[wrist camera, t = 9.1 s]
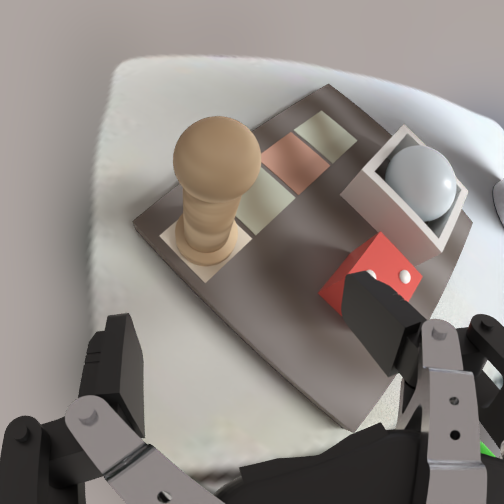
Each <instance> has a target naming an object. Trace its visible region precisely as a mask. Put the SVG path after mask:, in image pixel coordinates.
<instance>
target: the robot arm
mask: <svg viewBox="0 0 504 504" xmlns="http://www.w3.org/2000/svg"><path fill="white" fill-rule="evenodd" d="M493 197H494V203H495V207H496V210H497V213H498V215H499V217H500V220H501V222H502V224H503V226H504V179H502V180H501V181H499V182H498V183H497V184H496V185H495V186H494V189H493ZM341 313H342V317H343V320H344V321H345V323H346V324H347V326H348V327H349V328H350V329H351V331H352V332H353V333H354V334H355V336H356V337H357V338H358V339H359V341H360V342H361V343H362V345H363V346H364V347H365V348H366V350H367V351H368V352H369V353H370V355H371V356H372V357H373V359H374V360H375V361H376V362H377V364H378V365H379V366H380V368H381V369H382V370H383V372H384V373H385V374H386V375H387V377H390V376H393V375H395V374H398V373H400V374H401V376H402V377H403V379H402V381H401V391H400V402H399V411H398V420H397V424H396V427H395V429H393V430H385V428H384V426H383V425H382V423H381V422H380V423H378V424H375V425H373V426H371V427H368V428H366V429H364V430H361V431H359V432H356V433H354V434H351V435H349V436H348V437H346V438H345V439H343V440H342V441H340V442H339V443H337V444H336V445H334V446H333V447H331V448H330V449H328V450H327V451H325V452H323V453H322V454H320V455H316V456H306V457H293V458H277V459H273V460H269V461H265V462H261V463H257V464H253V465H248V466H244V467H239V469H240V474H241V476H240V477H238V478H236V479H234V480H232V481H230V482H229V483H227V484H225V485H224V486H223V487H221V488H220V489H219V490H217V491H216V492H215V493H214V494H213V495H212V494H211V493H210V492H208V491H207V490H206V489H204V488H203V487H202V486H201V485H199V484H198V483H197V482H195V481H194V480H193V479H192V478H190V477H189V476H188V475H187V474H185V473H184V472H183V471H182V470H181V469H179V468H178V467H177V466H176V465H175V464H173V463H172V462H171V461H170V460H169V459H168V458H167V457H165V456H164V455H163V454H162V453H161V452H160V451H159V450H158V449H156V448H155V447H154V446H153V445H151V444H146V443H145V442H144V441H143V440H142V439H141V438H145V429H144V396H143V355H142V350H141V346H140V343H139V340H138V337H137V334H136V331H135V328H134V325H133V322H132V319H131V316H130V314H129V313H125V314H117V315H110V316H108V317H107V322H106V327H105V331H98V332H96V333H95V335H94V336H93V337H92V339H91V340H90V341H89V344H88V349H87V355H86V358H85V365H84V368H83V373H82V379H81V384H80V389H79V395H78V399H76V400H75V401H73V402H72V403H71V404H70V405H69V407H68V409H67V410H66V413H65V416H64V417H62V418H60V419H58V420H55V421H51V422H48V423H45V424H42V425H41V424H40V423H39V422H38V421H37V420H36V419H35V418H33V417H30V416H21V417H18V418H16V419H14V420H13V421H12V422H11V423H10V424H9V425H8V426H7V428H6V431H5V434H4V439H3V445H2V451H1V457H0V504H86V499H85V482H86V481H89V480H92V479H95V478H99V477H102V476H104V478H105V480H106V481H107V482H108V483H109V485H110V486H111V487H112V488H113V489H114V490H115V491H116V493H117V494H118V495H119V496H120V497H121V498H122V499H123V500H124V501H125V502H126V504H504V327H503V326H502V325H501V324H500V323H499V322H498V321H497V320H496V319H494V318H493V317H491V316H488V315H485V314H477V315H475V316H473V318H472V319H471V322H470V324H469V327H466V328H457V329H455V328H454V326H452V325H451V324H450V323H448V322H446V321H444V320H440V319H430V320H427V319H426V318H425V317H424V316H422V315H421V314H420V313H419V312H418V311H417V310H416V309H415V308H414V307H413V306H412V305H411V304H409V303H408V302H407V301H406V300H404V298H403V297H402V296H401V295H400V294H399V295H398V293H397V292H396V291H395V290H394V289H393V288H392V287H391V286H389V285H387V284H385V283H383V282H381V281H379V280H376V279H375V278H374V277H373V276H372V275H370V274H369V273H368V272H367V271H360V272H356V273H351V274H347V275H346V277H345V282H344V290H343V297H342V305H341ZM487 360H489V361H490V362H491V364H492V365H493V366H494V367H495V368H496V369H497V370H498V371H499V372H500V373H501V375H502V377H503V386H502V388H501V390H499V389H498V387H497V386H496V385H495V384H494V383H493V382H492V380H491V379H490V378H489V377H488V376H487V375H486V374H485V372H484V371H483V370H482V369H483V367H484V365H485V364H486V362H487ZM479 421H480V422H481V424H482V425H483V427H484V428H485V429H486V431H487V432H488V433H489V435H490V436H491V438H492V439H493V440H494V442H495V443H496V445H497V446H498V447H499V449H500V450H501V456H500V457H499V458H497V457H493V456H490V455H486V454H483V453H480V431H479Z"/></svg>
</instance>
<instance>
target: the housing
mask: <svg viewBox="0 0 504 504" xmlns="http://www.w3.org/2000/svg"><path fill="white" fill-rule="evenodd" d="M415 145H422V146H427V145H425V144H424V143H423V142H422V141H421V140H420V139H419V138H418V137H417V136H416V135H415V134H414V133H413V132H412V131H411V130H410V129H409V128H408V127H407V126H406V125H405V124H403V125H402V126H401V128H400V129H399V130H398V131H397V132H396V133H395V134H394V135H393V136H392V137H391V138H390V139H389V141H388V142H387V143H386V144H385V145H384V146H383V147H382V148H381V149H380V150H379V151H378V152H377V153H376V155H375V156H374V157H373V158H372V159H371V160H370V161H369V162H368V163H367V164H366V165H365V166H364V167H363V168H362V170H361V171H360V172H359V173H358V174H357V175H356V177H355V178H354V179H353V180H352V181H351V182H350V184H349V185H348V186H347V187H346V188H345V189H344V190H343V192H342V193H341V194H340V196H341V197H342V198H343V199H344V200H346V201H347V202H348V203H349V204H350V205H351V206H352V207H353V208H354V209H355V210H356V211H357V212H358V213H359V214H360V215H361V216H362V217H363V218H364V219H365V220H366V221H367V222H368V223H369V224H370V225H371V226H372V227H373V228H374V229H375V230H376V231H377V232H380V231H381V232H382V233H383V234H384V235H385V236H386V237H387V238H388V239H389V240H390V242H391V243H392V244H393V245H394V246H395V247H396V248H397V249H398V250H399V251H400V252H401V253H402V254H403V255H404V256H405V257H406V259H407V260H408V261H409V262H410V263H411V264H412V265H413V266H414V267H415V266H417V265H419V264H421V263H423V262H425V261H427V260H429V259H431V258H433V257H435V256H437V255H439V254H441V253H442V252H443V250H444V247H445V245H446V243H447V241H448V239H449V237H450V235H451V232H452V230H453V228H454V226H455V223H456V221H457V219H458V216H459V214H460V212H461V209H462V207H463V204H464V202H465V199H466V197H467V194H468V192H469V191H468V190H467V189H466V188H465V187H464V185H463V184H462V183H461V182H460V181H459V180H458V179H457V177H456V176H455V177H456V195H455V198H454V201H453V203H452V205H451V206H450V208H449V209H448V210H447V212H446V213H445V214H443V215H442V216H441V217H439V218H437V219H435V220H432V221H429V223H428V224H427V225H426V224H425V223H424V222H423V220H422V219H421V218H420V217H419V216H418V215H417V214H416V213H415V212H414V211H413V210H412V209H411V208H410V207H409V205H408V204H407V203H406V202H405V201H404V200H403V199H402V198H401V197H400V196H399V195H398V194H397V193H396V192H395V191H394V190H393V189H392V188H391V187H390V186H389V185H388V184H387V183H386V182H385V181H384V180H383V179H382V178H381V177H380V176H379V175H378V174H376V173H375V172H374V171H375V170H376V169H377V168H378V167H379V166H380V165H381V163H382V162H383V161H384V160H385V159H386V158H388V159H389V160H390V161H391V159H392V158H393V157H394V156H395V155H396V154H397V153H398V152H399V151H401V150H403V149H404V148H407V147H410V146H415Z"/></svg>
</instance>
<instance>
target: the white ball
mask: <svg viewBox="0 0 504 504" xmlns="http://www.w3.org/2000/svg"><path fill="white" fill-rule="evenodd" d="M385 182H386V183H387V184H388V185H389V186H390V187H391V188H392V189H393V190H394V191H395V192H396V193H397V194H398V195H399V196H400V197H401V198H402V199H403V200H404V201H405V202H406V203H407V204H408V205H409V207H410V208H411V209H412V210H413V211H414V212H415V213H416V214H417V215H418V216H419V217H420V218H421V219H422V220H423V222H426V221H432V220H435V219H437V218H439V217H441V216H442V215H443V214H445V213H446V212H447V210H448V209H449V208H450V206H451V205H452V203H453V201H454V198H455V195H456V177H455V173H454V170H453V168H452V166H451V164H450V163H449V161H448V160H447V159H446V158H445V157H444V156H443V155H442V154H441V153H440V152H438V151H437V150H435V149H433V148H430V147H427V146H422V145H415V146H410V147H407V148H404V149H403V150H401V151H399V152H398V153H397V154H396V155H395V156H394V157H393V158H392V159H391V161H390V163H389V164H388V167H387V170H386V173H385Z"/></svg>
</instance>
